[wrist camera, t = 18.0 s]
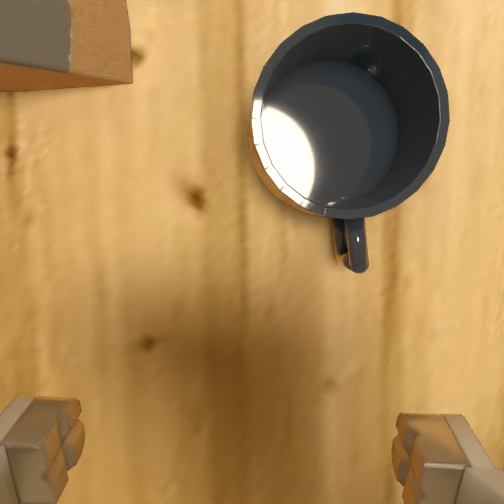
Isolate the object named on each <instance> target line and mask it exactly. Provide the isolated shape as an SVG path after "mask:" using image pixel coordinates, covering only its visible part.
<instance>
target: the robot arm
mask: <svg viewBox="0 0 504 504" xmlns="http://www.w3.org/2000/svg"><path fill="white" fill-rule="evenodd" d="M81 412H82V410H81V405H80V401H79V400H77V399H72V398H57V397H43V396H38V397H36V396H22V395H19V396H17V397H15V398H14V399H13V400H12V401H11V402H10V403H9V405H8V406H7V407H6V408H5V409H4V411H3V412H2V413H1V414H0V504H56V503H57V501H58V499H59V497H60V496H61V494H62V492H63V490H64V488H65V486H66V484H67V482H68V475H67V471H68V470H70V469H71V468H72V467H74V466H75V465H76V464H77V462H78V460H79V458H80V456H81V454H82V450H83V446H84V442H85V429H84V425H83V423H82V422H81V421H80V420H79V419H78V417H79V415H80V413H81ZM396 427H397V430H398V433H399V434H398V435H397V436H396V437H395V438H394V439H393V443H392V464H393V469H394V473H395V476H396V479H397V480H398V481H399V482H400V483H401V484H402V485H403V486H404V490H403V495H402V497H403V500H404V503H405V504H504V470H503V469H496V468H495V466H494V465H493V463H492V461H491V460H490V458H489V456H488V455H487V453H486V452H485V450H484V448H483V447H482V445H481V443H480V442H479V440H478V438H477V437H476V435H475V434H474V432H473V430H472V429H471V427H470V425H469V424H468V422H467V420H466V419H465V417H463V416H462V415H458V414H440V415H439V414H417V413H400V414H399V415H398V417H397V422H396Z"/></svg>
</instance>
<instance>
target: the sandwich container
mask: <svg viewBox="0 0 504 504" xmlns="http://www.w3.org/2000/svg"><path fill="white" fill-rule="evenodd" d="M126 83H133V82H132V63H131V42H130V28H129V21H128V13H127V6H126V0H0V91H30V90H44V89H57V88H71V87H85V86H98V85H112V84H126Z"/></svg>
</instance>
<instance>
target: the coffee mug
mask: <svg viewBox="0 0 504 504" xmlns="http://www.w3.org/2000/svg"><path fill="white" fill-rule="evenodd" d="M449 119H450V118H449V103H448V93H447V89H446V86H445V83H444V80H443V77H442V74H441V71H440V68H439V66H438V65H437V63H436V62H435V60H434V59H433V57H432V56H431V54H430V53H429V51H428V50H427V48H426V47H425V46H424V44H423V43H421V42H420V41H419V40H418V39H417V38H416V37H415V36H413V35H412V34H411V33H410V32H409V31H408V30H406V29H405V28H404V27H402V26H400V25H398V24H396V23H394V22H392V21H389V20H387V19H385V18H383V17H379V16H374V15H368V14H361V13H354V12H352V13H344V14H336V15H328V16H325V17H323V18H320V19H318V20H316V21H313V22H311V23H309V24H306V25H304V26H302V27H301V28H299V29H298V30H297V31H296V32H294V33H293V34H292V35H291V36H289V37H288V38H287V39H285V40H284V41H283V42H282V43H281V44H280V45H279V46H278V48H277V49H276V50H275V52H274V53H273V54H272V56H271V57H270V58H269V60H268V61H267V62H266V64H265V66H264V67H263V70H262V72H261V75H260V77H259V80H258V82H257V85H256V87H255V90H254V94H253V101H252V107H251V114H250V122H249V130H248V140H249V150H250V155H251V159H252V162H253V165H254V167H255V169H256V172H257V174H258V176H259V177H260V179H261V180H262V182H263V183H264V185H265V186H266V187H267V188H268V190H269V191H270V192H271V193H272V194H273V195H274V196H276V197H277V198H278V199H279V200H281V201H282V202H284V203H285V204H286V205H288V206H290V207H292V208H294V209H297V210H300V211H302V212H305V213H308V214H313V215H318V216H324V217H331V218H332V228H333V237H334V246H335V256H336V260H337V261H338V262H339V263H340V264H342V265H343V266H345V267H347V268H348V269H350V270H351V271H353V272H355V273H358V274H360V273H364V272H365V271H366V270H367V269H368V267H369V259H368V249H367V239H366V229H365V217H372V216H375V215H377V214H380V213H382V212H385V211H387V210H390V209H392V208H394V207H396V206H398V205H399V204H401V203H402V202H403V201H405V200H406V199H407V198H409V197H410V196H411V195H413V194H414V193H415V192H417V190H418V189H419V188H420V187H421V186H422V184H423V183H424V182H425V181H426V179H427V178H428V177H429V176H430V174H431V173H432V172H433V170H434V169H435V166H436V164H437V162H438V160H439V158H440V155H441V153H442V151H443V149H444V146H445V143H446V137H447V132H448V126H449V121H450V120H449Z"/></svg>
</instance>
